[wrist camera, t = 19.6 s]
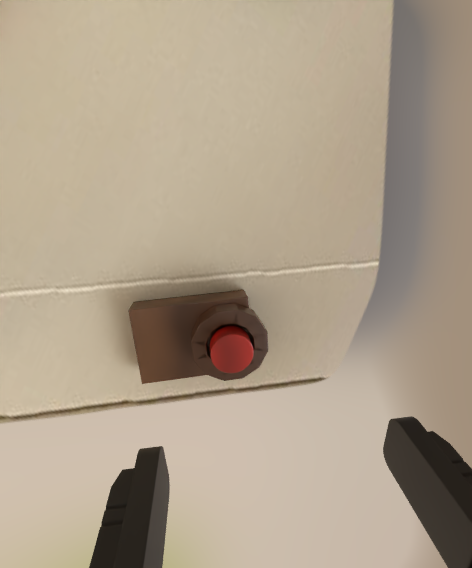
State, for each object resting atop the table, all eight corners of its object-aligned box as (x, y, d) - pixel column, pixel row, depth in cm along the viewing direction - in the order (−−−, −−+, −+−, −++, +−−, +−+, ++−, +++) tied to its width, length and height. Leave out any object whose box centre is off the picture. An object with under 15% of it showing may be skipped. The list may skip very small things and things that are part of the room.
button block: (256, 288, 28) (265, 302, 24) (260, 355, 30) (269, 378, 26) (133, 301, 27) (123, 318, 23) (146, 370, 29) (138, 396, 25)
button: (248, 322, 25) (252, 331, 23) (251, 359, 26) (255, 370, 24) (207, 327, 24) (208, 337, 23) (211, 364, 25) (212, 376, 24)
